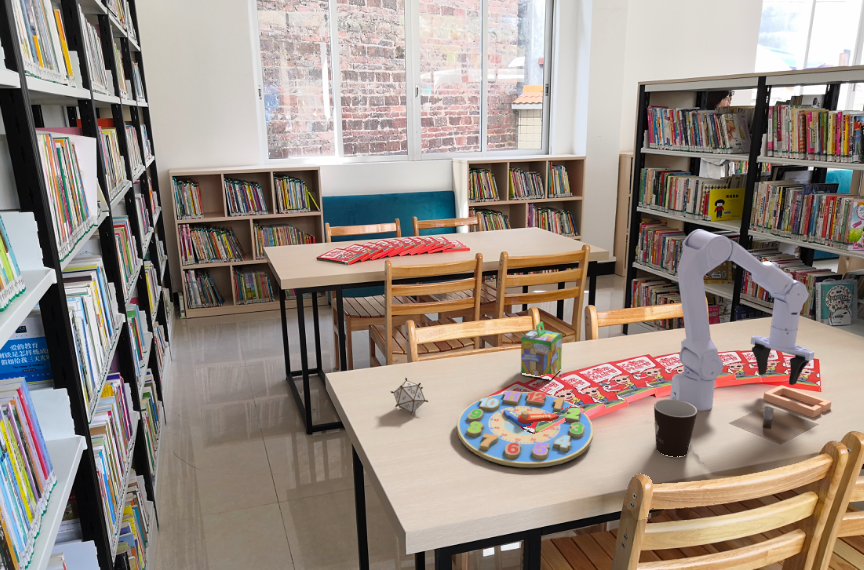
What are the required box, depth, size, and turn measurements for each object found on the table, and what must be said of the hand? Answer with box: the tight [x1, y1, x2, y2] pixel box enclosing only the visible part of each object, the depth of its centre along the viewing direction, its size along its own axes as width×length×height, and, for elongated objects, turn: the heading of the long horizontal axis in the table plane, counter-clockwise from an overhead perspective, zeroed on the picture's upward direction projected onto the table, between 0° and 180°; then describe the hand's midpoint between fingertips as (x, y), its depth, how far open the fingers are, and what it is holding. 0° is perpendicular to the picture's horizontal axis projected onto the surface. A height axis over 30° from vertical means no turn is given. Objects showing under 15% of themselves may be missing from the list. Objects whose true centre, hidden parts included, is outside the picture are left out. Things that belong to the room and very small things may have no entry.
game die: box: [390, 377, 429, 414], centre depth 156 cm, size 9×8×10 cm
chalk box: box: [520, 321, 563, 376], centre depth 177 cm, size 9×9×15 cm
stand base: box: [729, 405, 819, 445], centre depth 145 cm, size 16×12×1 cm
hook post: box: [763, 406, 774, 429], centre depth 143 cm, size 2×2×4 cm
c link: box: [762, 384, 832, 419], centre depth 154 cm, size 12×8×3 cm, turn 33°
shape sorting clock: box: [456, 390, 594, 468], centre depth 143 cm, size 31×30×6 cm
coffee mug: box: [653, 398, 698, 458], centre depth 136 cm, size 12×9×10 cm
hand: (777, 378), depth 157 cm, fingers open, 7 cm apart
